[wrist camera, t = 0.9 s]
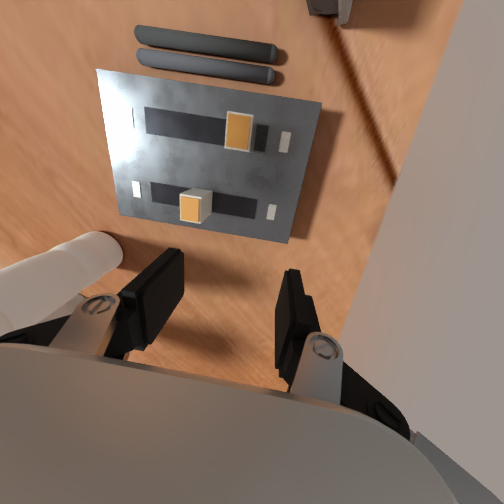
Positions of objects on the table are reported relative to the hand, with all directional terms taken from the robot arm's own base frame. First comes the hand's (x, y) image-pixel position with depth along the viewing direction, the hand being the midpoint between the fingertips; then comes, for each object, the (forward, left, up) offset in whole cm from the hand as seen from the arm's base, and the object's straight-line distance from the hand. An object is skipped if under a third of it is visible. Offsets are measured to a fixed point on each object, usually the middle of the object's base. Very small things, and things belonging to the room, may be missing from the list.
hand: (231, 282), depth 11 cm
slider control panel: (-4, -7, -20) cm, 21 cm away
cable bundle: (-15, -8, -20) cm, 26 cm away
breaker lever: (0, -7, -16) cm, 18 cm away
